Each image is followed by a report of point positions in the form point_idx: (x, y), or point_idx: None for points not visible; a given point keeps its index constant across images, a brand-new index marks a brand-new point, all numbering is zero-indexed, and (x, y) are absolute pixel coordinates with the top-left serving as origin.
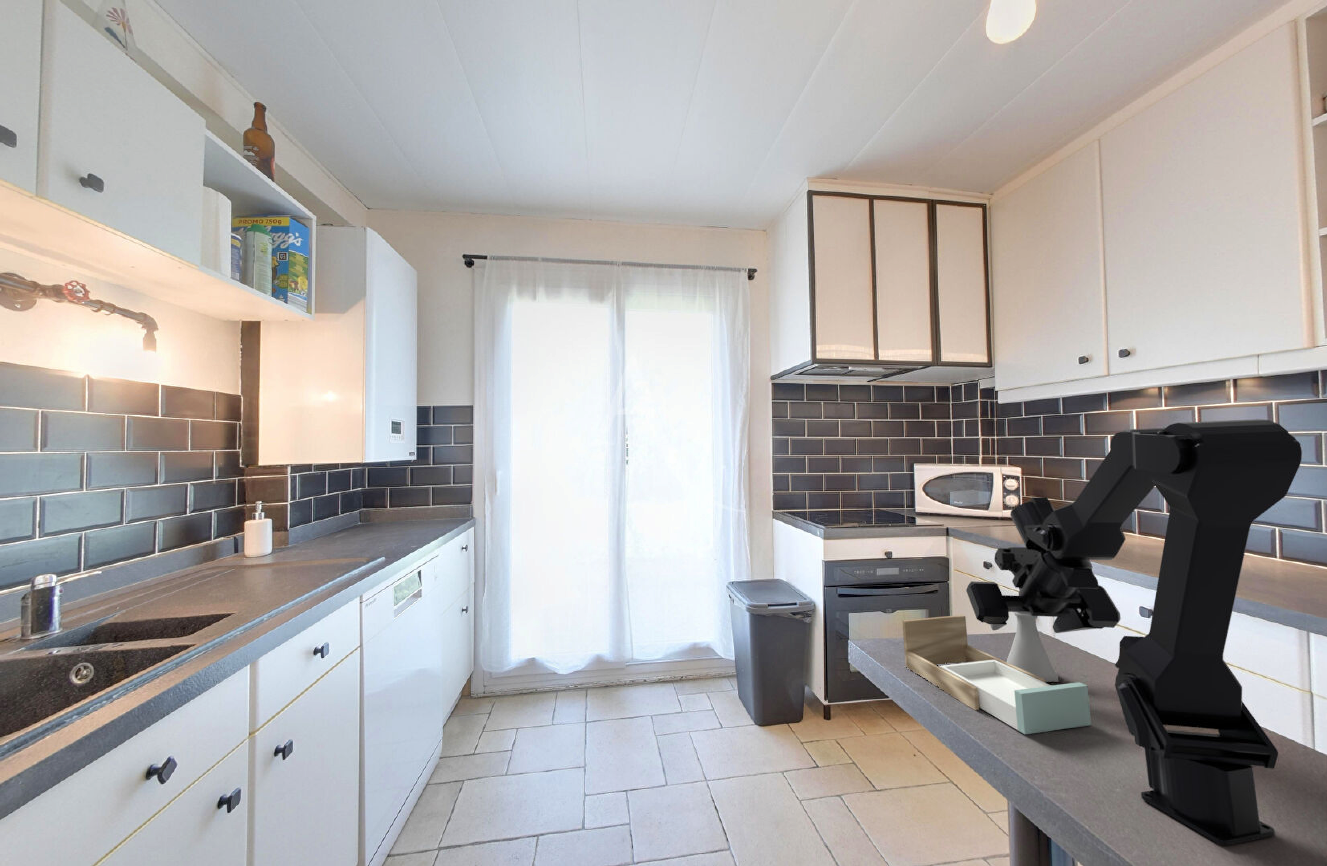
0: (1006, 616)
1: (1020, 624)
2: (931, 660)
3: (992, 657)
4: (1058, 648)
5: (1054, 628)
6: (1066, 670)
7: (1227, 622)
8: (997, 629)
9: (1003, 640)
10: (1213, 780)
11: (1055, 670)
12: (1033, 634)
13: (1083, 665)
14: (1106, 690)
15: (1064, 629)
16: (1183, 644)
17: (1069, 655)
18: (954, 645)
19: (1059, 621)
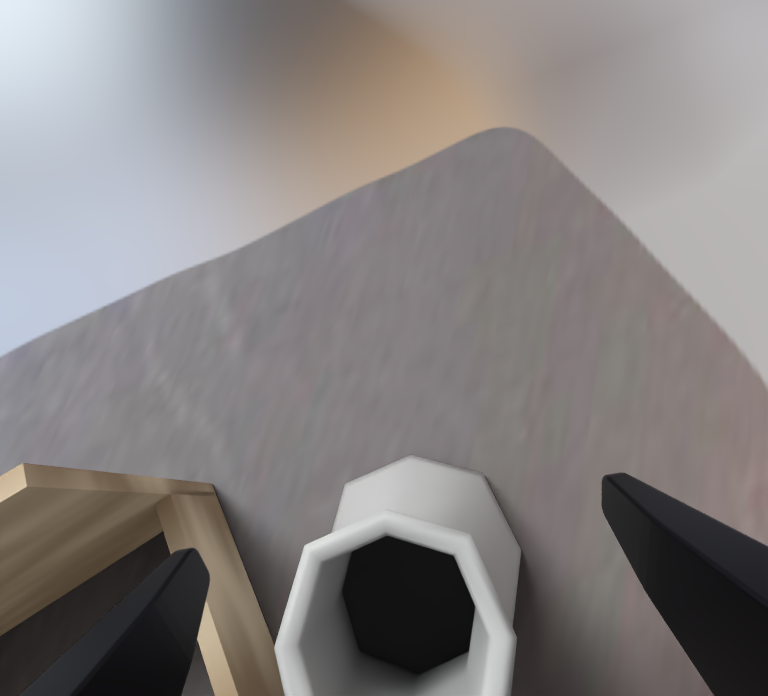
0: None
1: (342, 661)
2: (23, 611)
3: (215, 682)
4: (574, 227)
5: (614, 509)
6: (566, 456)
7: None
8: (190, 654)
9: (409, 215)
10: None
11: (518, 554)
12: (434, 676)
13: (637, 374)
14: (697, 674)
15: (710, 678)
16: None
17: (601, 283)
18: (96, 538)
19: (709, 604)
